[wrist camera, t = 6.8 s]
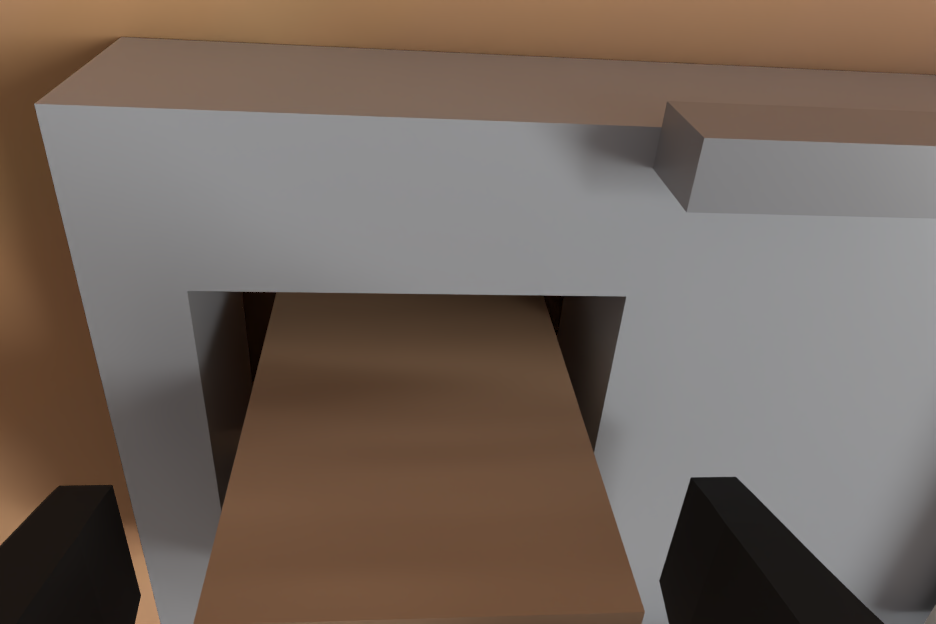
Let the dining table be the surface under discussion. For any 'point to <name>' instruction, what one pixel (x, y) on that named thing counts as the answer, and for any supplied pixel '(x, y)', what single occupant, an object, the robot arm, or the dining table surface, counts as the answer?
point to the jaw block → (415, 473)
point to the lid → (931, 617)
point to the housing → (530, 269)
